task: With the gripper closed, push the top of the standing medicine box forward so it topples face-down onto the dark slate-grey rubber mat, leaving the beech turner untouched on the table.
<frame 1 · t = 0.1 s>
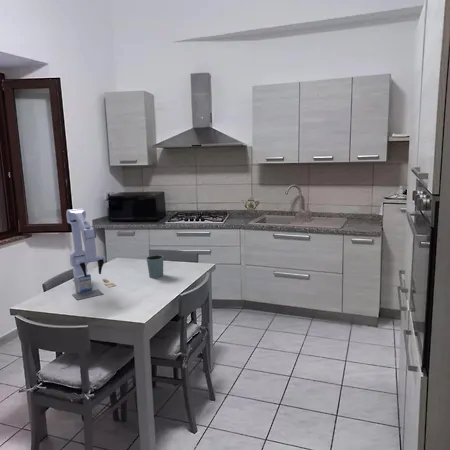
hand: (92, 274, 219), 10 cm above the table, fingers open, 7 cm apart
medicine box: (84, 291, 224), on the table, touching slate mat
slate mat: (87, 294, 217), on the table
beech turner: (109, 284, 234), on the table
teal utensil pot: (156, 276, 246), on the table
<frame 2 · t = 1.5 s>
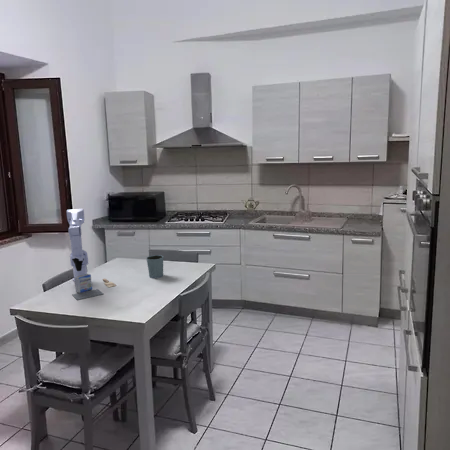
hand: (79, 270, 227), 10 cm above the table, fingers closed
nothing on the table moved.
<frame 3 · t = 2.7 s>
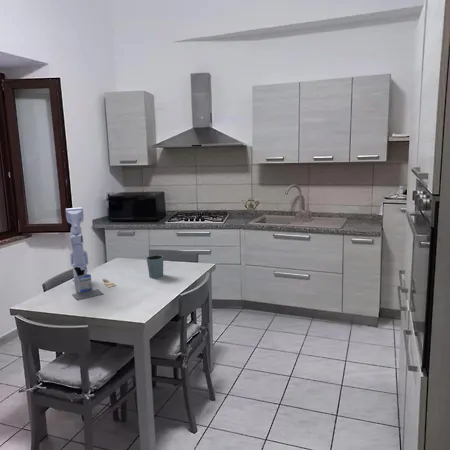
hand: (80, 279, 227), 5 cm above the table, fingers closed
medicine box: (84, 291, 224), on the table, touching gripper, slate mat
everything else where it was.
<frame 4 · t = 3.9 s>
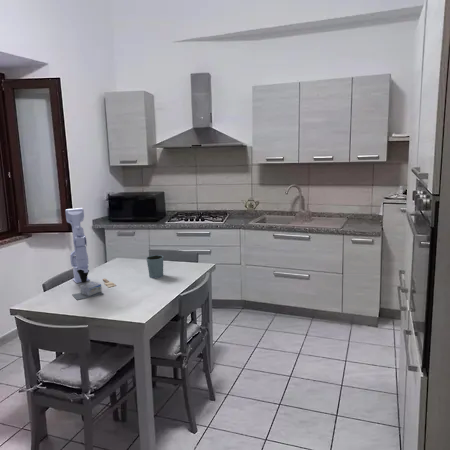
hand: (84, 282, 221), 5 cm above the table, fingers closed
medicine box: (85, 287, 222), point 3 cm above the table, touching slate mat
everything else where it was.
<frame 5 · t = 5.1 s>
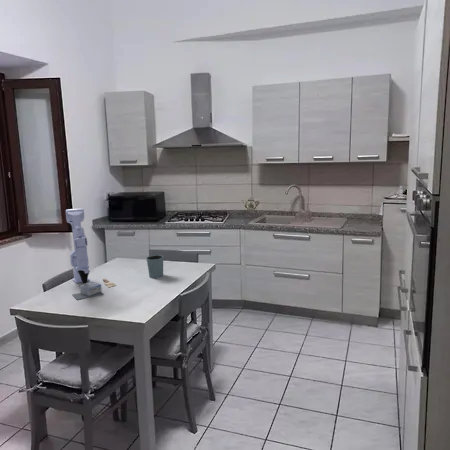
hand: (84, 283, 220), 5 cm above the table, fingers closed
nothing on the table moved.
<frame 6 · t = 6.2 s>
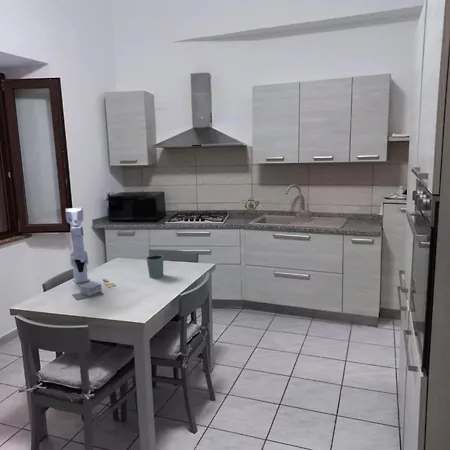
hand: (80, 272, 224), 10 cm above the table, fingers closed
nothing on the table moved.
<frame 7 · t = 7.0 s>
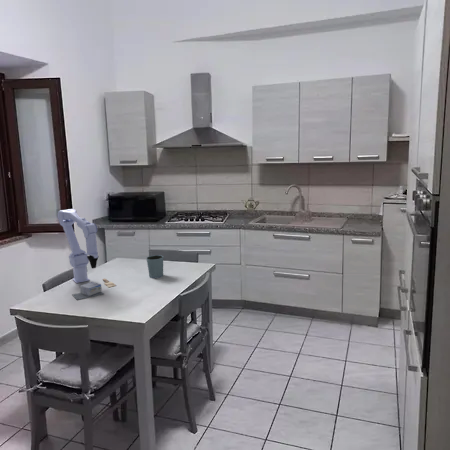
hand: (93, 267, 231), 10 cm above the table, fingers closed
nothing on the table moved.
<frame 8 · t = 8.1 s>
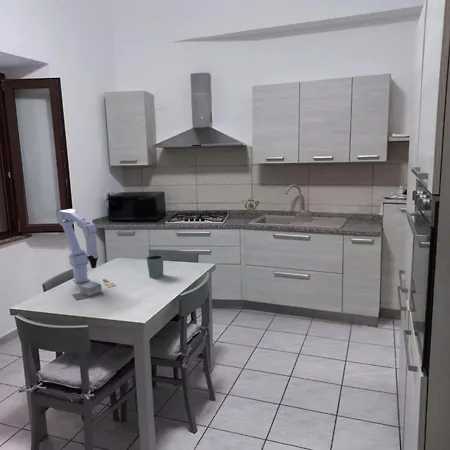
hand: (93, 267, 231), 10 cm above the table, fingers closed
nothing on the table moved.
at the end: medicine box tilted 90°; medicine box inside the target area (3.6 cm from its centre), point 2.5 cm above the table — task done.
